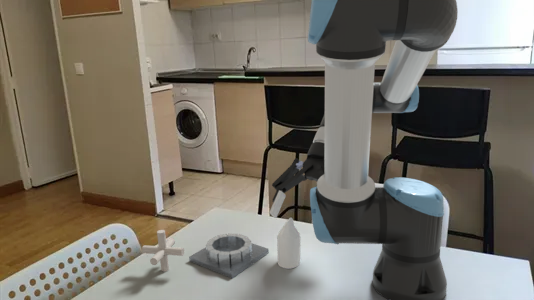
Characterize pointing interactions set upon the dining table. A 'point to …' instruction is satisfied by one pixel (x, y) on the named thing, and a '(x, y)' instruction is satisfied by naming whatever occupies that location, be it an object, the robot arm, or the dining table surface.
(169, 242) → the pipe connector
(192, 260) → the collar
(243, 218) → the dining table surface
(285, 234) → the white faceted pointed piece
